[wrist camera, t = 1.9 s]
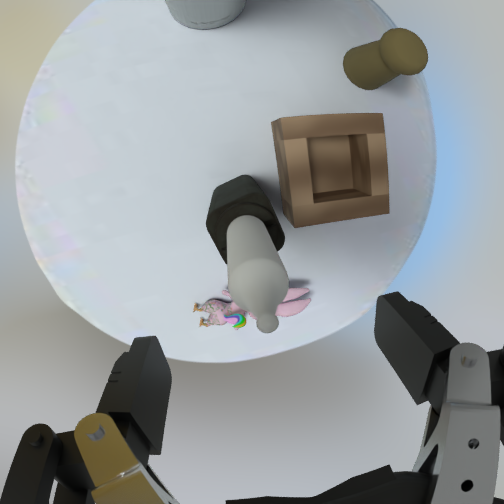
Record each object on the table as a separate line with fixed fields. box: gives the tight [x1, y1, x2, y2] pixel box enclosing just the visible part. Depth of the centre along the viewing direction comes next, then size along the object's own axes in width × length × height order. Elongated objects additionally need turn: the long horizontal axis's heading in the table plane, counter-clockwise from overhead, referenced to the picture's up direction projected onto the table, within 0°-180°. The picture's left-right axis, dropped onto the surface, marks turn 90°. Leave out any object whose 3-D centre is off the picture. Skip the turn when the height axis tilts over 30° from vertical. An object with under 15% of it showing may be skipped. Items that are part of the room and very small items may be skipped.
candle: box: [206, 175, 289, 333], centre depth 22 cm, size 5×5×25 cm
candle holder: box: [271, 113, 389, 228], centre depth 30 cm, size 11×11×6 cm
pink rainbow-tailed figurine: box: [193, 288, 311, 330], centre depth 36 cm, size 6×6×15 cm
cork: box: [343, 28, 428, 90], centre depth 24 cm, size 6×6×11 cm
